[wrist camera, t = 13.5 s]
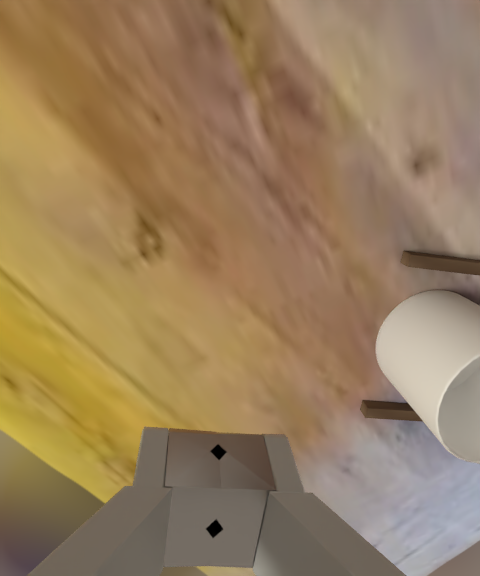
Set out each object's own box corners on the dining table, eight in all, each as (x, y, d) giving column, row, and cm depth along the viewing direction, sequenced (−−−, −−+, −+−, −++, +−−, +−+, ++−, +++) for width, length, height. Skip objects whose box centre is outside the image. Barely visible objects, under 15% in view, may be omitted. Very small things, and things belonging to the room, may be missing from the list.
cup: (438, 266, 42) (527, 311, 31) (499, 336, 46) (599, 399, 35) (352, 344, 44) (407, 413, 33) (417, 406, 48) (486, 487, 36)
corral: (405, 243, 41) (421, 250, 38) (524, 258, 43) (548, 266, 40) (358, 415, 47) (368, 432, 44) (464, 422, 49) (481, 439, 46)
